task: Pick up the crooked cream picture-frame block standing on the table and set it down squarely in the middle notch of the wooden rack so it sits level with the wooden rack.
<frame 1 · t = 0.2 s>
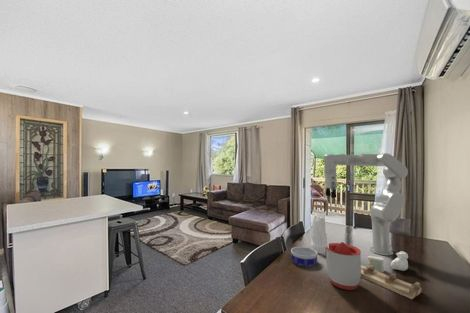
hand: (330, 196, 146), 37 cm above the table, tool pointing down, fingers open, 9 cm apart
white crystal cluster: (319, 250, 144), on the table
wooden rack: (379, 280, 105), on the table
citrus juicer: (341, 283, 103), on the table
frame block: (375, 269, 117), on the table
dog bowl: (304, 261, 128), on the table
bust: (400, 269, 117), on the table
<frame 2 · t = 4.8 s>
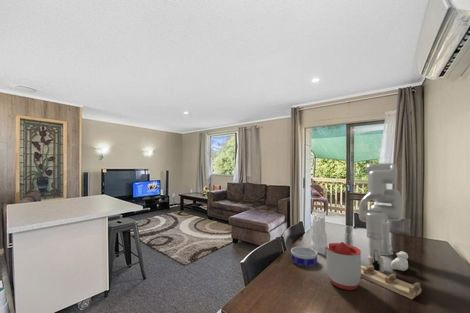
hand: (375, 268, 117), 1 cm above the table, tool pointing down, fingers closed on frame block, 3 cm apart
frame block: (375, 269, 117), on the table, touching gripper
everything else where it was.
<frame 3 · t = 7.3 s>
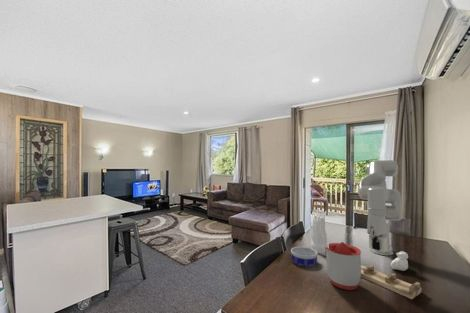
hand: (378, 248, 106), 16 cm above the table, tool pointing down, fingers closed on frame block, 3 cm apart
frame block: (378, 249, 106), point 15 cm above the table, touching gripper
everything else where it was.
when the fingers open (4 cm above the table, at t = 10.0 s): frame block stays where it is, resting on wooden rack.
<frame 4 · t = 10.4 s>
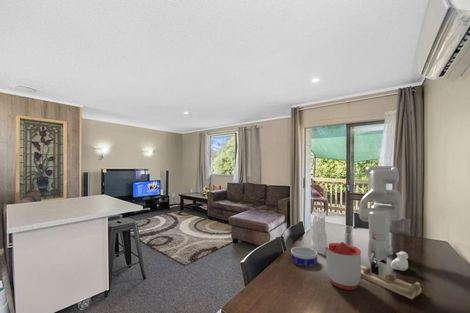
hand: (379, 271, 106), 4 cm above the table, tool pointing down, fingers open, 7 cm apart
frame block: (379, 276, 106), point 2 cm above the table, touching wooden rack
everything else where it was.
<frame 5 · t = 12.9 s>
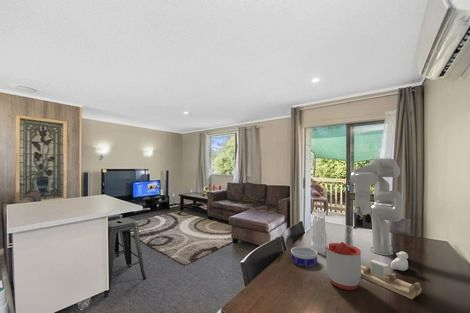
hand: (364, 224, 121), 24 cm above the table, tool pointing down, fingers open, 9 cm apart
nothing on the table moved.
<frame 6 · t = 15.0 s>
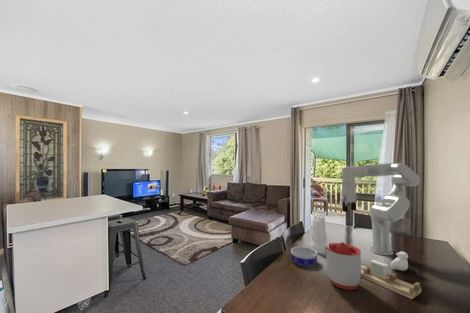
hand: (349, 210, 139), 28 cm above the table, tool pointing down, fingers open, 9 cm apart
nothing on the table moved.
at the end: frame block 0.3 cm off-centre on the wooden rack, point 2.0 cm above the wooden rack's base; frame block tilted 0°; the gripper is holding nothing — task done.
